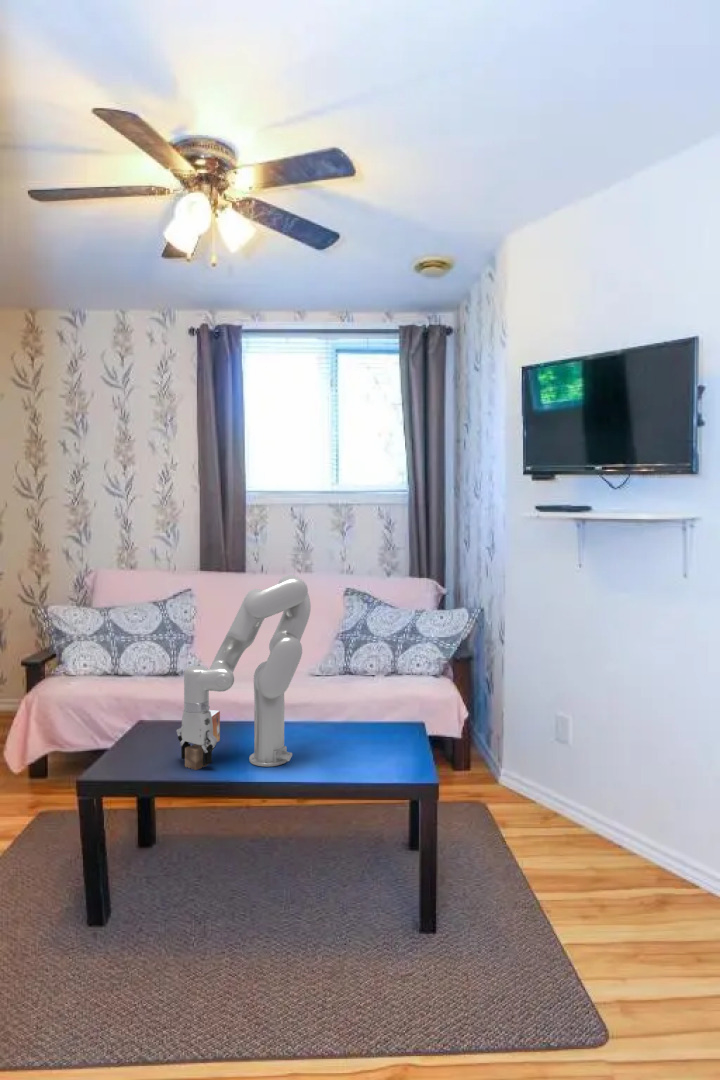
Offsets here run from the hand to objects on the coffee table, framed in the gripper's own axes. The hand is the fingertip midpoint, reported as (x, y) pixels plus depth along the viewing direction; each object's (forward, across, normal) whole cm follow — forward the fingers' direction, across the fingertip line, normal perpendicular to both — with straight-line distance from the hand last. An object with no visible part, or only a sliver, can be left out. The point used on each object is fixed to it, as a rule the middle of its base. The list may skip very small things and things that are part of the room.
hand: (196, 760), depth 209 cm
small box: (+2, +13, -17) cm, 21 cm away
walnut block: (+2, 0, 0) cm, 2 cm away
